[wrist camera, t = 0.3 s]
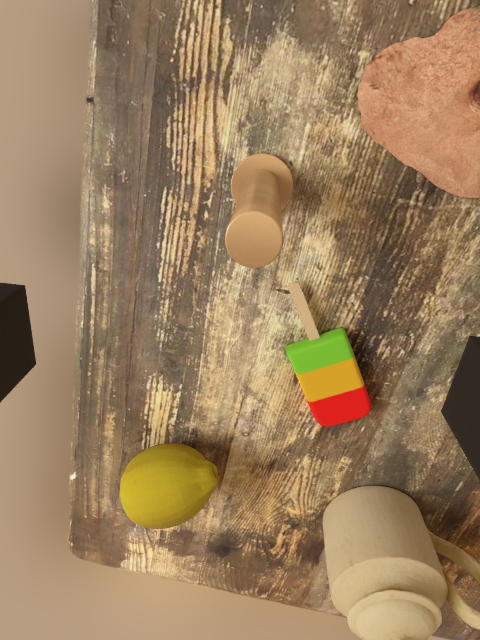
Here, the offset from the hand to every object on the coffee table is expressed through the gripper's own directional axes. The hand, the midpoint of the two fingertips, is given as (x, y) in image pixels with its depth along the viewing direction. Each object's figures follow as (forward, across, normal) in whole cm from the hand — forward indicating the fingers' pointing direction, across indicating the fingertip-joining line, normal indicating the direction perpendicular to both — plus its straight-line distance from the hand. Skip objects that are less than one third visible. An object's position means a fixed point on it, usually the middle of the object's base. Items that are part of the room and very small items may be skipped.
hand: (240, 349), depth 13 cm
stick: (+23, 0, +1) cm, 23 cm away
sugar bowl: (+24, +18, -33) cm, 44 cm away
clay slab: (+24, +15, +8) cm, 29 cm away
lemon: (+24, -6, -28) cm, 37 cm away
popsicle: (+24, +7, -13) cm, 28 cm away
